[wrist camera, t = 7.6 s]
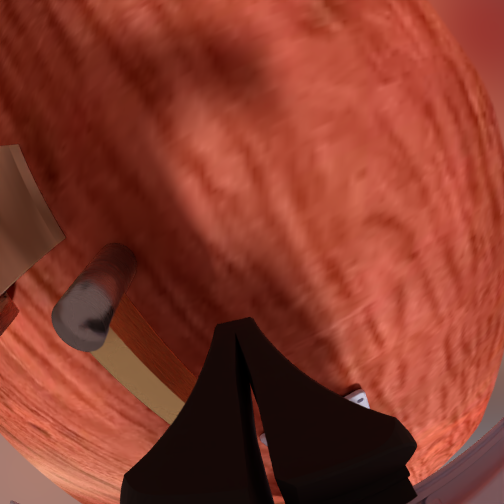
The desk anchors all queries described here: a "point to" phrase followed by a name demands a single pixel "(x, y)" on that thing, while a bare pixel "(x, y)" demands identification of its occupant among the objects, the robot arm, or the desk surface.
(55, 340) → the desk surface
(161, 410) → the bar
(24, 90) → the desk surface
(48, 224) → the hitch block
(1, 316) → the pin
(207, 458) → the robot arm
